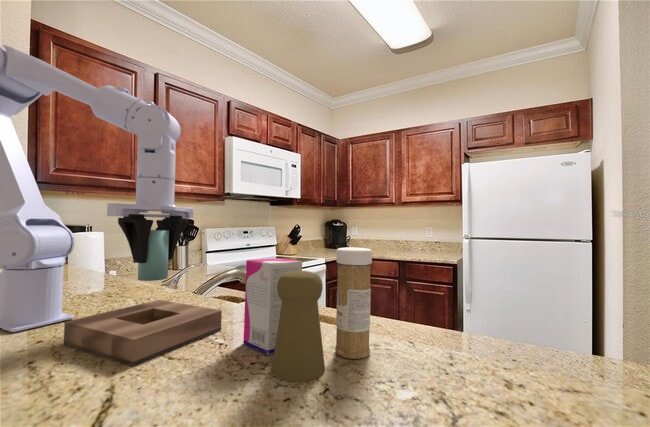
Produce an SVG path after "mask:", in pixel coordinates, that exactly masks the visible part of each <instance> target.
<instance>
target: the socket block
mask: <svg viewBox="0 0 650 427" xmlns="http://www.w3.org/2000/svg"><path fill="white" fill-rule="evenodd" d="M222 311H223V310H221V309H216V308H210V307H204V306H198V305H191V304H185V303H179V302H173V301H169V300H167V301H166V300H163V299H162V300H160V299H157V300H153V301H149V302H143V303H141V304H136V305H135V304H134V305H131V306H128V307H122V308H118V309H114V310H111V311H105V312H102V313H97V314H93V315H90V316H84V317H80V318H76V319H70V320H66V321H64V324H63V325H64V326H63V327H64V329H63V346H65V347H69V348H73V349H75V350H79V351H81V352H85V353H88V354H91V355H94V356H98V357H102V358H105V359H108V360H111V361H114V362H117V363H122V364H124V365H127V366H131V367H134V366H137V365H140V364H142V363H145V362H147V361H149V360H152V359H154V358H157V357H159V356H162V355H164V354H167V353H169V352H171V351H174V350H177V349H178V348H181V347H184V346H186V345H188V344H191V343H193V342H196V341H198V340H201V339H203V338H206V337H208V336H210V335H213V334H215V333H217V332H221V330H222V317H223V316H222V313H223V312H222Z"/></svg>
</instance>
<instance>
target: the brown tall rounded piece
mask: <svg viewBox="0 0 650 427" xmlns="http://www.w3.org/2000/svg"><path fill="white" fill-rule="evenodd" d="M323 289H324V288H323V280H322V278H321V276H320V275H319V274H317V273H316V272H312V271H307V270H302V271H292V272H287V273H284V274H283V275H281V277H280V278H279V280H278V284H277V292H278V296H279V297H280V299H281V300H282V304H281V311H280V317H279V324H278V331H277V338H276V344H275V351H274V353H273V359H272V366H271V373H272V375H273V376H275V378H277V379H280V381H281V380H282V381H285V382H286V381H287V382H292V383H295V382H297V383H303V382H309V381H312V380H313V381H314V380H316V379H317V378H319V377H321V376H323V374H325V372H326V365H325V355H324V346H323V339H322V331H321V330H322V328H321V321H320V313H319V312H320V311H319V303H318V302H319V299H321V297H322V293H323Z"/></svg>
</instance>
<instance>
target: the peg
mask: <svg viewBox="0 0 650 427" xmlns="http://www.w3.org/2000/svg"><path fill="white" fill-rule="evenodd" d="M168 249H169V230H158V229H151V231H150V235H149V240H148V253H147V260H146V263H137V280H138V281H141V282H153V281H162V280H163V281H164V280H166V279H168V278H169V277H168V276H169V275H168V274H169V260H168Z"/></svg>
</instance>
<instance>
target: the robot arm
mask: <svg viewBox="0 0 650 427" xmlns="http://www.w3.org/2000/svg"><path fill="white" fill-rule="evenodd" d="M1 46H2V47H1ZM1 46H0V270H2V271H0V328H2V329H1V330H4V331H8V332H11V333H16V332H21V331H25V330H29V329H33V328H38V327H42V326H46V325H50V324H54V323H59V322H63V321H64V322H65V321H70V320H74V317H75V316H74V315H73V314H68V313H66V312H63V290H64V268H65V267H64V265H65V264H66V261H67V260H66V258H67V257H68V256H70V255H71V253H72V252H73V251H74V249H75V246H76V245H75V244H76V239H75V238H76V237H75V235H74V233H73V231H72V230H70V229H69V228H68V226H66V225H65V224H64V222H63V221H62V219H61V216H60V215H59V214H57V212H55V211H54V210H53V209H51V208H50V207H48V205H46V204H45V202H44V200H43V197H42V194H41V192H40V190H39V186H38V184H37V182H36V179H35V176H34V174H33V172H32V169H31V167H30V165H29V162H28V159H27V157H26V154H25V152H24V149H23V146H22V144H21V141H20V139H19V136H18V134H17V132H16V129H15V126H14V124H13V122H12V117H13V116H16V115H18V114H19V113H21V112H22V111H24V110H25V109H26V108H28V106H30V105H32V103H34V102H35V101H36V100H38V99H39V98H40V97H41V96H42V95H43V96H45V97H47V96H50V94H51V93H52V92H53V91H55V92H57V93H58V94H59V93H60V94H62V95H64V96H66V97H69V98H71V99H74V100H76V101H78V102H81V103H82V104H86V105H88V106H90V109H91V111H92V113H93V114H94V116H95V117H96V118H98V119H100V120H103V121H104V122H106V123H108V124H111V125H113V126H116V127H118V128H120V129H122V130H124V131H127V132H129V133H131V134H134V135H136V136H137V153H136V154H137V155H136V156H137V159H136V162H137V163H136V179H135V181H136V182H135V183H136V184H135V203H121V202H119V203H117V202H113V203H110V202H107V205H106V208H107V210H106V217H117V223H118V225H119V227H120V229H121V230H122V233H123V234H124V236H125V238H126V240H127V243H128V246H129V248H130V252H131V256H132V260H133V263H136V264H138V263H146V260H147V253H148V240H149V235H150V231H151V230H152V228H153V224H154V220H153V219H147V218H163V219H157V220H156V221H155V223H156V225H157V230H169V249H168V261H173V258H174V255H175V253H176V252H175V251H176V248H177V246H178V242H179V239H180V238H181V235H182V233H183V232H184V230H185V228H186V227H187V226H188V220H189V219H194V207H185V206H182V207H181V206H177V205H175V190H176V189H175V186H176V185H175V184H176V161H177V160H176V157H177V156H176V149H177V148H176V145H177V144H176V143H177V142H178V141H179V140H180V138H181V135H182V128H181V125H180V123H179V121H178V120H177V119H176V118H175V117H174V116H173V115H171V114H170V113H169V112H168V111H167V110H166V109H165V108H163V107H162V106H160V105H157V104H155V102H153V101H151V100H149V99H147V100H146V101H145V100H142V99H141V98H138V97H136V96H134V95H131V94H130V91H129V90H128V89H127V88H126V87H123V86H121V85H117V87H114V86H112V85H102V86H100V87H96V86H94V85H92V84H90V83H88V82H86V81H84V80H81V79H80V78H78V77H76V76H74V75H73V74H70V73H68V72H66V71H64V70H62V69H60V68H57V66H54V65H52V64H49V63H48V62H46V61H44V60H42V59H39V58H37V57H34V56H32V55H30V54H28V53H26V52H23V51H21V50H19V49H16V48H15V47H12V46H9V45H6V44H2V45H1ZM149 212H161V214H160V213H159V214H156V213H155V214H153V213H149Z"/></svg>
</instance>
